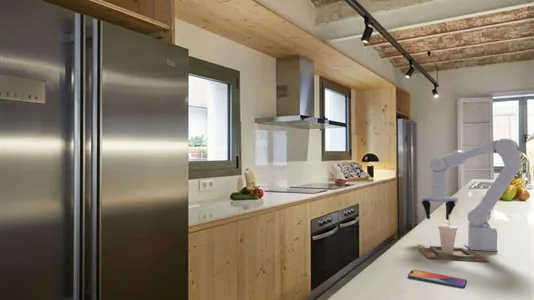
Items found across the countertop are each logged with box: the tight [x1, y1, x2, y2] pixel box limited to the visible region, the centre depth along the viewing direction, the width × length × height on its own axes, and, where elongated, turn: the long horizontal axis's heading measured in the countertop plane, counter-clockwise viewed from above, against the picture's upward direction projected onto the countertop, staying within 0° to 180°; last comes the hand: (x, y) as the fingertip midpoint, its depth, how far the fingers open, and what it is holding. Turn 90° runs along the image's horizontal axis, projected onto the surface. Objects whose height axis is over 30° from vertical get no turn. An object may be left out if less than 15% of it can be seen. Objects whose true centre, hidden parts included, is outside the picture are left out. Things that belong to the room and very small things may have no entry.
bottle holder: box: [417, 245, 490, 263], centre depth 138 cm, size 20×14×2 cm
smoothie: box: [437, 214, 458, 254], centre depth 139 cm, size 6×6×14 cm
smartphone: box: [407, 269, 468, 289], centre depth 111 cm, size 7×15×1 cm, turn 57°
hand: (437, 219), depth 159 cm, fingers open, 7 cm apart
